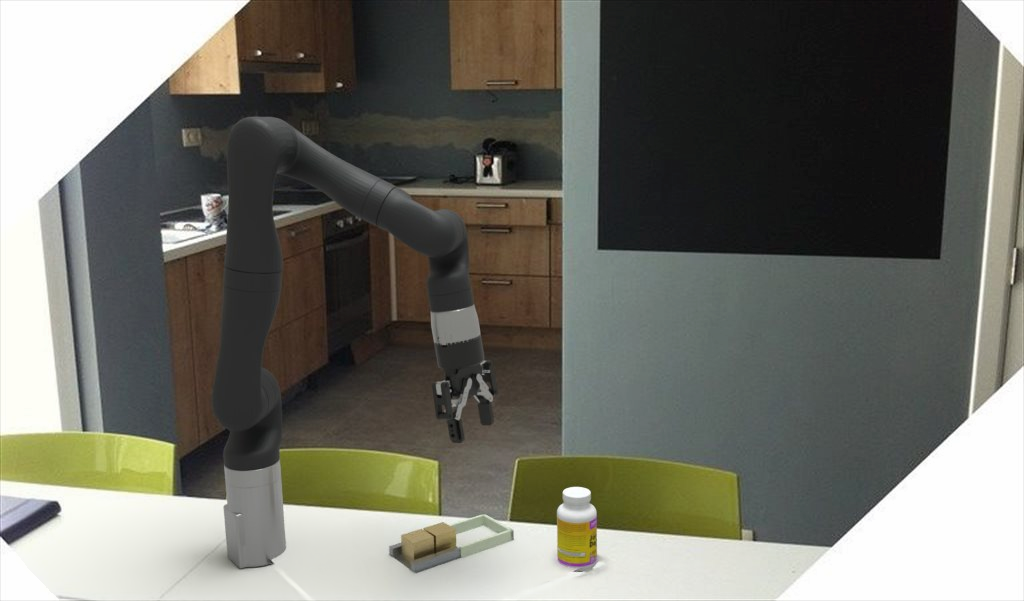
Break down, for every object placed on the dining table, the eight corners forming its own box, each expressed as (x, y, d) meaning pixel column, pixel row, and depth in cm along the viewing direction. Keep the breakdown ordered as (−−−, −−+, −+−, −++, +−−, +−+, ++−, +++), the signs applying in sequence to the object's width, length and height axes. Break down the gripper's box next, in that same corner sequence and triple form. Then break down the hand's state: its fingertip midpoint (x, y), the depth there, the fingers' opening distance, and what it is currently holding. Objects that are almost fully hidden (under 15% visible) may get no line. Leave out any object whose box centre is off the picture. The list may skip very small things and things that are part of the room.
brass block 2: (436, 557, 160) (435, 535, 160) (424, 549, 164) (423, 528, 163) (456, 551, 163) (455, 529, 162) (443, 543, 166) (443, 521, 165)
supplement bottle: (594, 574, 156) (594, 501, 153) (554, 571, 157) (553, 498, 154) (599, 556, 162) (598, 485, 160) (560, 553, 163) (559, 483, 161)
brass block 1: (414, 565, 158) (413, 543, 157) (402, 557, 161) (401, 535, 160) (434, 558, 160) (433, 536, 159) (422, 550, 163) (421, 528, 163)
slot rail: (415, 578, 155) (415, 564, 155) (388, 559, 163) (388, 545, 162) (461, 562, 161) (461, 549, 160) (433, 544, 168) (433, 531, 167)
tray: (461, 562, 161) (461, 547, 160) (433, 544, 168) (433, 529, 167) (513, 544, 167) (513, 530, 166) (484, 528, 174) (484, 513, 174)
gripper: (463, 326, 158) (478, 419, 161) (411, 347, 146) (428, 447, 149) (500, 324, 154) (515, 420, 156) (450, 346, 142) (467, 449, 145)
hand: (473, 433), depth 153 cm, fingers open, 8 cm apart
